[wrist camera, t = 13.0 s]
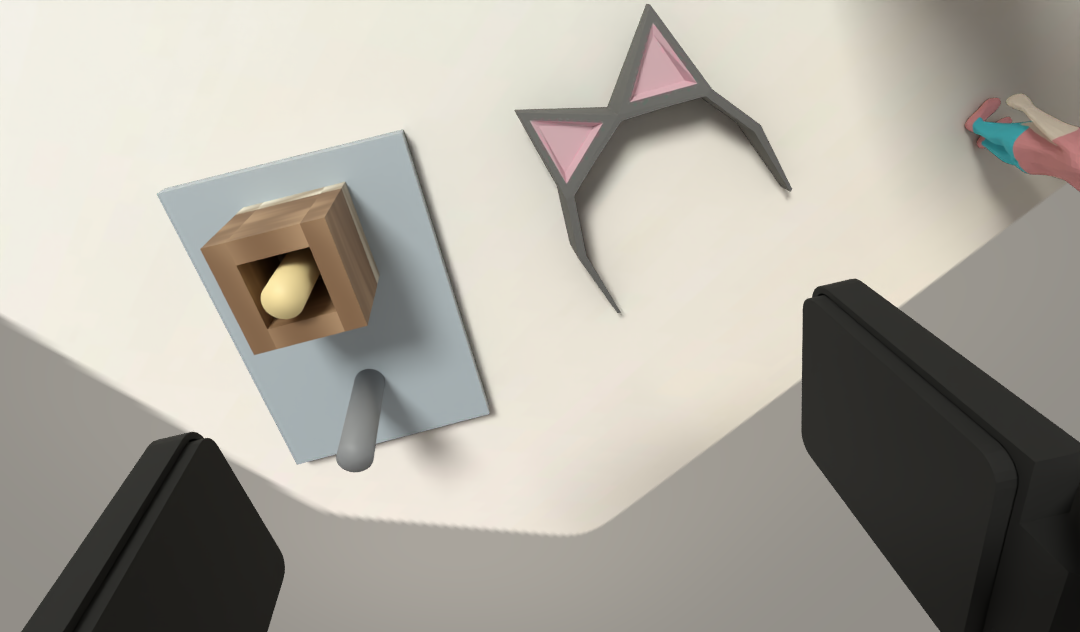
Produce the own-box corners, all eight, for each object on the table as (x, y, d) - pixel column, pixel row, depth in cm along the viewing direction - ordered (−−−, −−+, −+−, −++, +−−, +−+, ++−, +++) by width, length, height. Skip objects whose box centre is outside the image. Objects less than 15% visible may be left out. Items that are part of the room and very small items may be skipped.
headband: (621, 318, 41) (483, 143, 33) (607, 296, 44) (477, 129, 36) (797, 193, 39) (695, -26, 31) (772, 177, 42) (671, -28, 34)
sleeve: (345, 181, 35) (324, 217, 29) (379, 274, 38) (367, 325, 32) (242, 207, 35) (200, 249, 29) (284, 299, 38) (254, 355, 32)
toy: (1023, 141, 42) (1294, 202, 28) (964, 193, 43) (1198, 275, 29) (980, 69, 39) (1257, 100, 26) (918, 127, 40) (1152, 184, 27)
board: (403, 129, 36) (391, 163, 28) (488, 404, 45) (498, 491, 37) (165, 188, 35) (81, 241, 27) (300, 453, 44) (268, 552, 36)
